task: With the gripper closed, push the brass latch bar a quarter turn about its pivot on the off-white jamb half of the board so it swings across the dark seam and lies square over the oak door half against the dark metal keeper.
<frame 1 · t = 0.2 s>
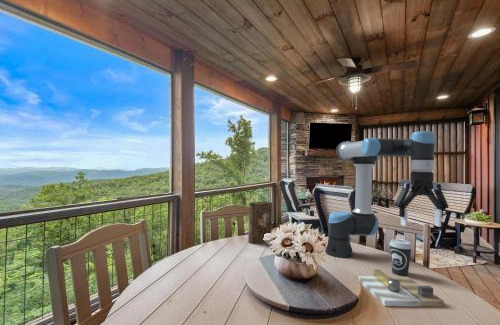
hand: (420, 225, 100), 28 cm above the table, fingers open, 13 cm apart
latch bar: (386, 279, 106), point 4 cm above the table, hinge at 0.0°
coffee cup: (399, 273, 122), on the table
book: (259, 241, 167), on the table
door board: (397, 292, 103), on the table
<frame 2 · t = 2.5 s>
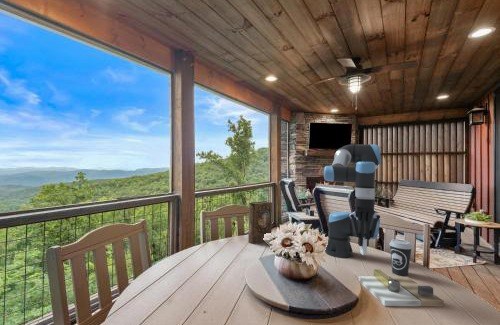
hand: (363, 253, 109), 13 cm above the table, fingers closed
nothing on the table moved.
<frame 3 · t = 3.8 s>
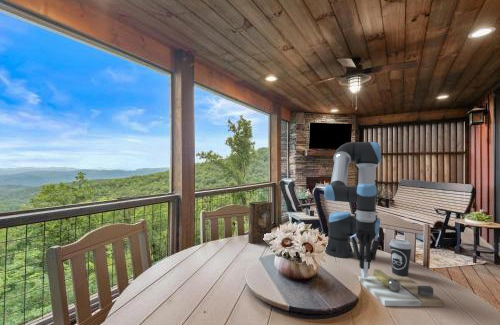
hand: (364, 276, 109), 4 cm above the table, fingers closed
nothing on the table moved.
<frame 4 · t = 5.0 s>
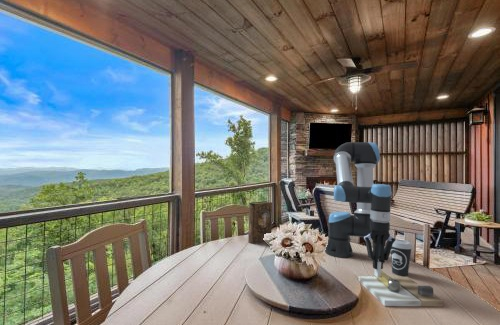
hand: (377, 276, 109), 4 cm above the table, fingers closed
latch bar: (386, 279, 106), point 4 cm above the table, hinge at 1.1°, touching gripper
everything else where it was.
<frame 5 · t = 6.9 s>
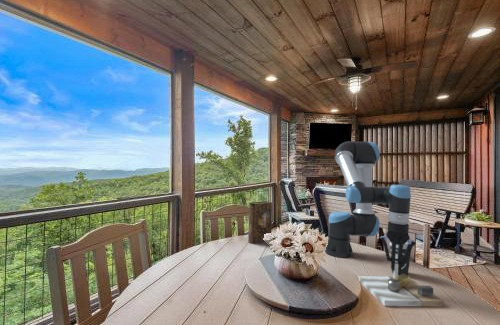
hand: (395, 278, 108), 4 cm above the table, fingers closed
latch bar: (399, 281, 104), point 4 cm above the table, hinge at 52.8°, touching gripper
everything else where it was.
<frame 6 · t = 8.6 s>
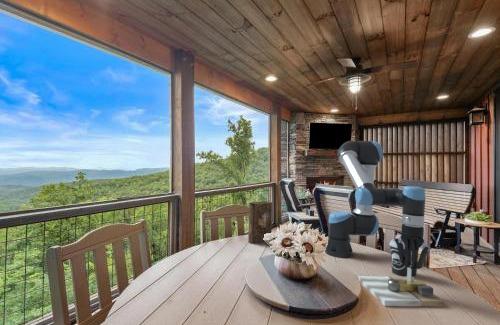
hand: (410, 283, 104), 3 cm above the table, fingers closed
latch bar: (406, 285, 101), point 4 cm above the table, hinge at 88.2°, touching gripper
everything else where it was.
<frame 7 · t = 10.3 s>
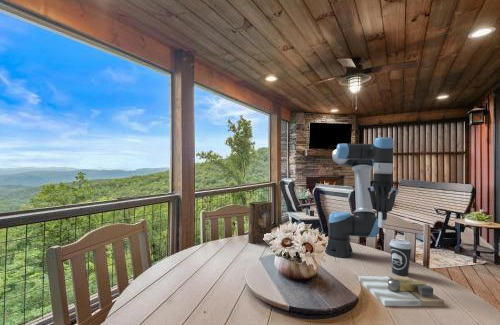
hand: (381, 226, 113), 24 cm above the table, fingers closed
latch bar: (406, 285, 101), point 4 cm above the table, hinge at 88.3°
everything else where it was.
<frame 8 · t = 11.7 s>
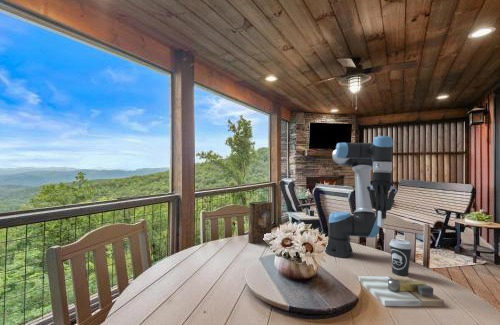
hand: (380, 225, 113), 24 cm above the table, fingers closed
nothing on the table moved.
at the end: latch bar at +88° (first picture: +0°); latch bar touching nothing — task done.
